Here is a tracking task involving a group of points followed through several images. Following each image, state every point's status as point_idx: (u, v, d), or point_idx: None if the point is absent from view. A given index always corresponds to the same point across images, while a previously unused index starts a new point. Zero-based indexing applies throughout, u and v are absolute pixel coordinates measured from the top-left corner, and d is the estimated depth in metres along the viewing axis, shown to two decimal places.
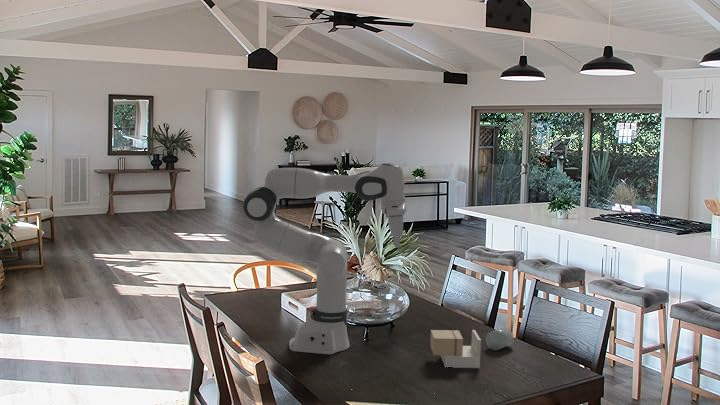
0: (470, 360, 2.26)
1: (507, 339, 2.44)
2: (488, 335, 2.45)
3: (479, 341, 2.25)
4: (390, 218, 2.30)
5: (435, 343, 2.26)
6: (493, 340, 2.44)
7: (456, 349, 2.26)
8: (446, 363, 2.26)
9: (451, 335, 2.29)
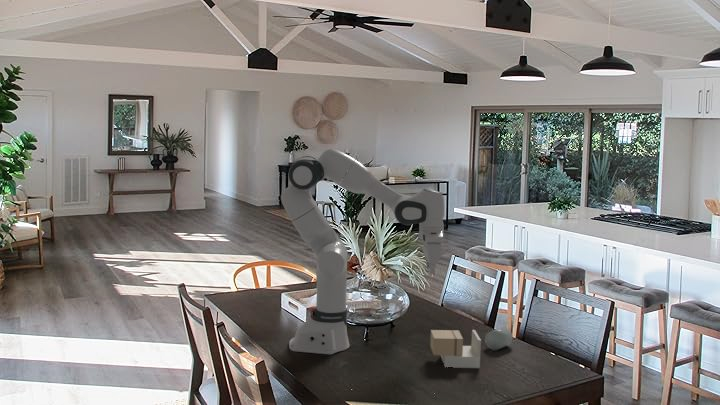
0: (470, 360, 2.26)
1: (506, 338, 2.45)
2: (487, 335, 2.46)
3: (479, 341, 2.25)
4: (428, 245, 2.29)
5: (435, 343, 2.26)
6: (492, 340, 2.44)
7: (456, 349, 2.26)
8: (446, 363, 2.26)
9: (451, 335, 2.29)
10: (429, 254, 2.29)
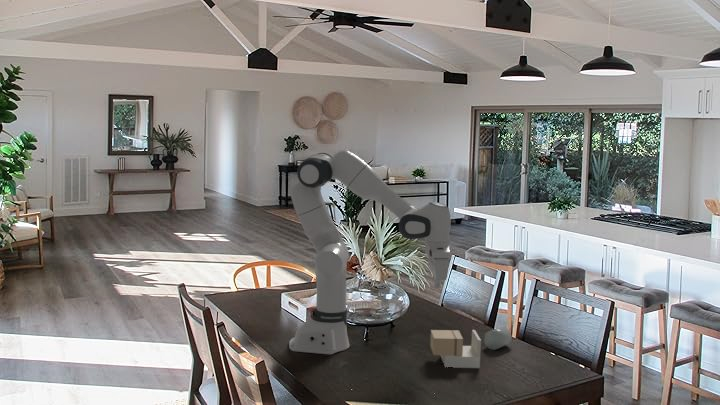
0: (470, 360, 2.26)
1: (505, 336, 2.45)
2: (485, 336, 2.46)
3: (479, 341, 2.25)
4: (435, 260, 2.22)
5: (435, 343, 2.26)
6: (491, 340, 2.45)
7: (456, 349, 2.26)
8: (446, 363, 2.26)
9: (451, 335, 2.29)
10: (436, 270, 2.21)
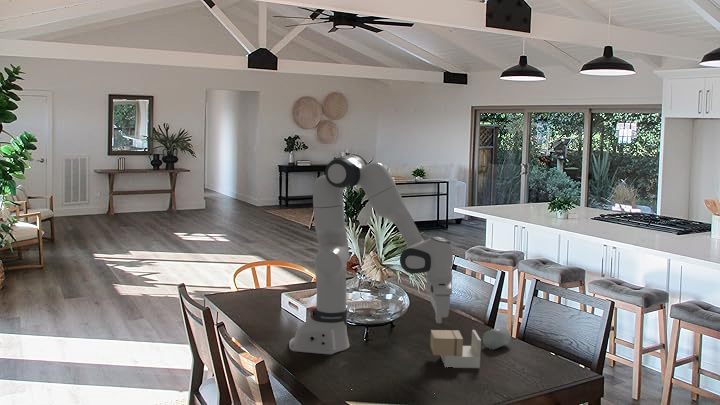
0: (470, 360, 2.26)
1: (504, 335, 2.45)
2: (484, 336, 2.47)
3: (479, 341, 2.25)
4: (437, 297, 2.19)
5: (435, 343, 2.26)
6: (490, 339, 2.45)
7: (456, 349, 2.26)
8: (446, 363, 2.26)
9: (451, 335, 2.29)
10: (437, 307, 2.19)
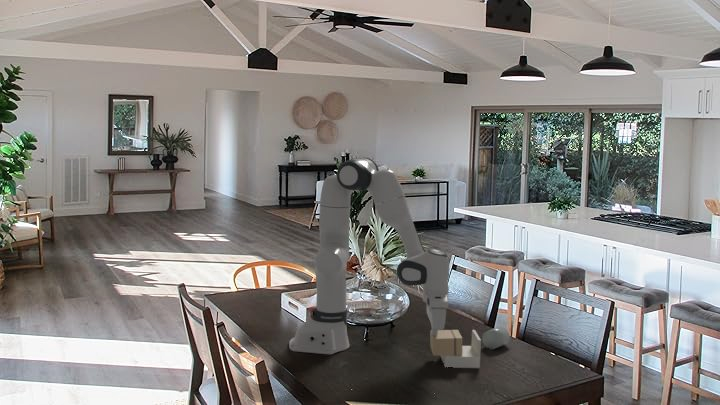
0: (470, 360, 2.26)
1: (502, 334, 2.46)
2: (483, 337, 2.47)
3: (479, 341, 2.25)
4: (433, 310, 2.20)
5: (435, 343, 2.26)
6: (489, 339, 2.45)
7: (455, 349, 2.26)
8: (446, 363, 2.26)
9: (450, 335, 2.29)
10: (433, 320, 2.19)
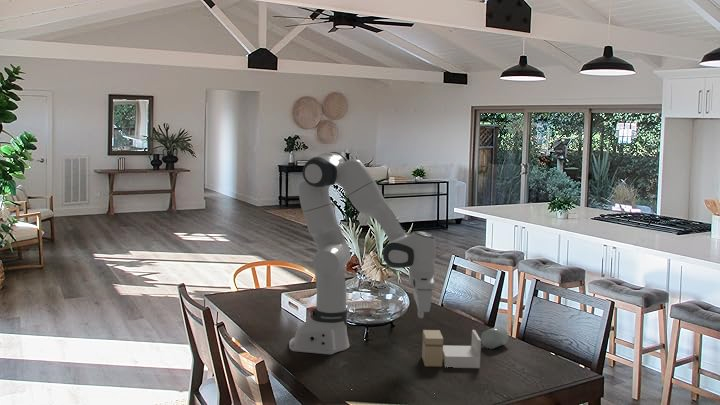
0: (470, 360, 2.26)
1: (500, 332, 2.46)
2: (482, 338, 2.47)
3: (479, 341, 2.25)
4: (418, 291, 2.19)
5: (430, 364, 2.27)
6: (488, 339, 2.46)
7: (437, 344, 2.26)
8: (446, 363, 2.26)
9: (424, 344, 2.29)
10: (419, 301, 2.18)
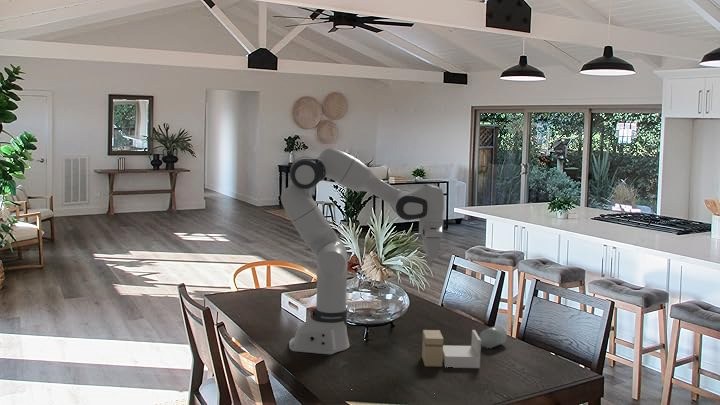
0: (470, 360, 2.26)
1: (497, 330, 2.47)
2: None
3: (479, 341, 2.25)
4: (428, 239, 2.33)
5: (430, 364, 2.27)
6: (486, 338, 2.46)
7: (437, 344, 2.26)
8: (446, 363, 2.26)
9: (424, 344, 2.29)
10: (428, 248, 2.32)
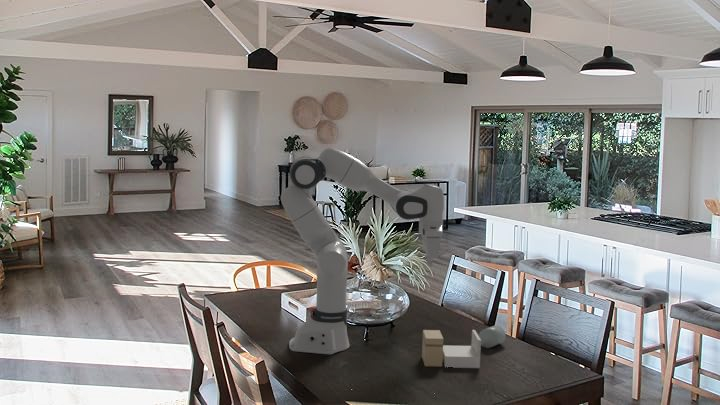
0: (470, 360, 2.26)
1: (495, 329, 2.48)
2: None
3: (479, 341, 2.25)
4: (428, 239, 2.33)
5: (430, 364, 2.27)
6: (485, 338, 2.46)
7: (437, 344, 2.26)
8: (446, 363, 2.26)
9: (424, 344, 2.29)
10: (428, 248, 2.32)
